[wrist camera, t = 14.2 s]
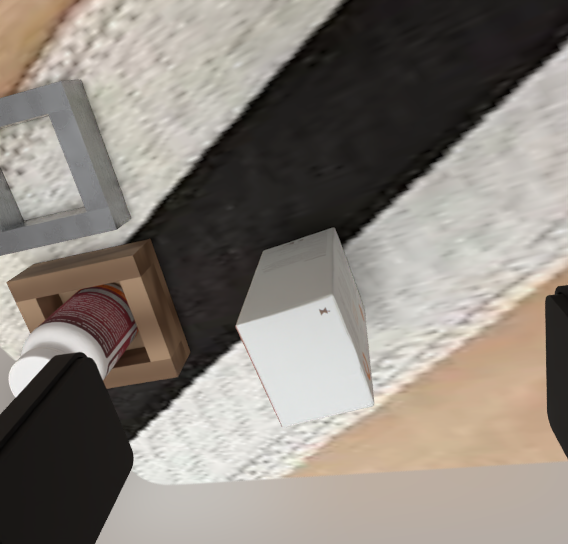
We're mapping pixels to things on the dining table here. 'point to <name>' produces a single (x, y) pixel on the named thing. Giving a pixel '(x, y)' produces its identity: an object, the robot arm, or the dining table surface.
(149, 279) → the tray
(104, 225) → the socket block
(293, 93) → the dining table surface
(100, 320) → the pill bottle
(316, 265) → the small box
